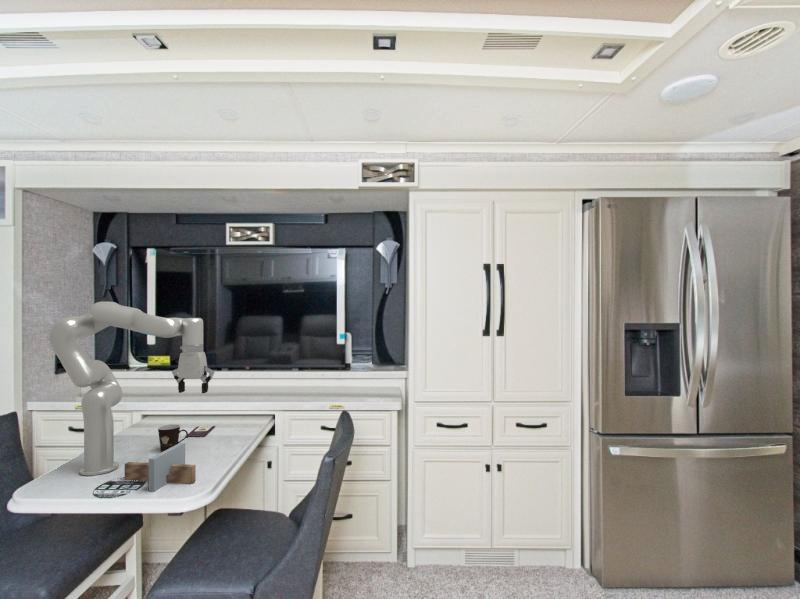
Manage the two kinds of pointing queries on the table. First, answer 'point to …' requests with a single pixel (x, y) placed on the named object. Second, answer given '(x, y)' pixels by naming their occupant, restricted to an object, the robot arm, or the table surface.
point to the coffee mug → (169, 436)
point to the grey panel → (164, 465)
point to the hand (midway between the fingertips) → (193, 392)
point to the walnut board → (177, 475)
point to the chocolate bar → (200, 431)
